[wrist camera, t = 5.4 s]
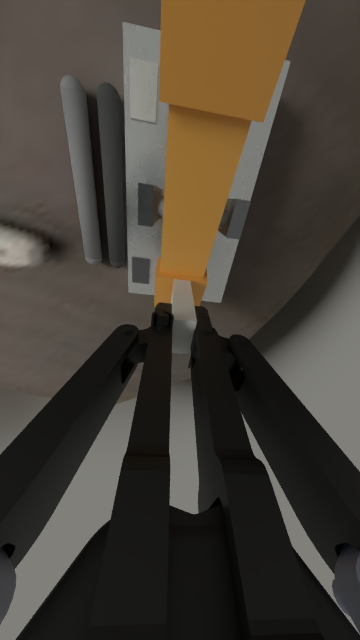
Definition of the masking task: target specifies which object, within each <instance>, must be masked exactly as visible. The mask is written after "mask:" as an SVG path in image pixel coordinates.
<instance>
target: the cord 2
mask: <svg viewBox="0 0 360 640" xmlns="http://www.w3.org/2000/svg"><path fill="white" fill-rule="evenodd" d="M97 106H98V119H99V132H100V145H101V158H102V171H103V184H104V197H105V210H106V223H107V236H108V249H109V260H110V263H111V265H112V266H114V267H116V268H120V267H122V266H124V264H125V261H126V260H125V225H124V191H123V157H122V123H121V100H120V97H119V94H118V92H117V90H116V89H115V87H114V86H112V85H111V84H109V83H102V84H101V85H100V86H99V87H98V90H97Z"/></svg>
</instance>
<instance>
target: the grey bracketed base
mask: <svg viewBox="0 0 360 640" xmlns="http://www.w3.org/2000/svg"><path fill="white" fill-rule="evenodd" d="M160 37H161V31H160V30H156V29H151V28H147V27H143V26H139V25H134V24H130V23H126V22H123V64H124V109H125V154H126V199H127V243H128V288H129V292H130V293H139V294H147V295H155V273H156V267H157V261H158V258H161V246H162V227H163V219H159V218H158V200H159V195H160V196H164V189H165V169H166V150H167V131H168V112H169V104H168V103H164V102H159V81H160ZM290 62H291V61H287V60H285V62H284V64H283V67H282V70H281V73H280V76H279V79H278V82H277V85H276V87H275V90H274V93H273V96H272V99H271V102H270V105H269V108H268V110H267V113H266V116H265V119H264V122H263V123H262V122H257V121H252V122H251V125H250V128H249V131H248V135H247V138H246V141H245V144H244V147H243V151H242V154H241V157H240V160H239V164H238V167H237V170H236V173H235V176H234V180H233V183H232V186H231V189H230V193H229V196H228V199H227V202H226V205H225V206H227V216H226V220H225V224H224V226H223V227H222V228H220V227H219V228H218V231H217V235H216V238H215V241H214V244H213V247H212V251H211V254H210V257H209V260H208V264H207V281H208V283H207V286H206V289H205V292H204V295H203V298H202V300H201V301H209V302H218V303H221V301H222V297H223V294H224V290H225V287H226V283H227V280H228V276H229V273H230V269H231V266H232V262H233V259H234V256H235V252H236V249H237V245H238V242H239V240H240V237H241V234H242V230H243V227H244V224H245V220H246V217H247V213H248V210H249V206H250V203H251V201H250V200H251V197H252V193H253V190H254V186H255V183H256V180H257V176H258V173H259V169H260V166H261V162H262V159H263V155H264V152H265V148H266V145H267V141H268V138H269V135H270V131H271V128H272V124H273V121H274V117H275V114H276V110H277V107H278V103H279V100H280V97H281V93H282V90H283V86H284V83H285V79H286V76H287V72H288V69H289V65H290Z"/></svg>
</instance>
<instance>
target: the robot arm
mask: <svg viewBox="0 0 360 640" xmlns="http://www.w3.org/2000/svg"><path fill="white" fill-rule="evenodd" d="M190 350H191V357H190V362H189V366H188V368H190V367H191V380H192V392H193V406H194V419H195V431H196V444H197V458H198V471H199V492H198V510H199V513H198V514H190V513H188V512H185V511H183V510H180V509H177V508H175V507H172V506H170V505H169V498H170V496H169V495H170V456H169V431H170V429H169V428H170V397H171V362H172V353H180V354H190ZM140 362H144V365H143V370H142V375H141V381H140V386H139V391H138V396H137V401H136V406H135V411H134V417H133V422H132V427H131V432H130V437H129V442H128V447H127V451H126V454H125V456H124V459H123V463H122V467H121V472H120V476H119V481H118V486H117V491H116V496H115V501H114V506H113V510H112V515H111V520H109V521H108V522H107V523H106V524H104V525H103V526H102V527H101V528H100V529H99V530H98V531H97V532H96V533H95V534H94V535H93V537H92V538H91V539H90V540H89V541H88V543H87V544H86V545H85V547H84V548H83V549H82V551H81V552H80V553H79V555H78V556H77V557H76V559H75V560H74V561H73V563H72V564H71V565H70V567H69V568H68V570H67V571H66V572H65V574H64V575H63V576H62V578H61V579H60V581H59V582H58V583H57V585H56V586H55V587H54V589H53V590H52V591H51V592H50V594H49V596H48V597H47V598H46V599H45V601H44V602H43V603H42V605H41V606H40V607H39V609H38V610H37V611H36V613H35V614H34V615H33V617H32V618H31V619H30V621H29V622H28V624H27V625H26V626H25V628H24V629H23V630H22V632H21V633H20V635H19V636H18V637H17V638H16V640H360V635H359V633H360V472H359V470H358V469H357V468H356V467H355V466H354V465H353V463H352V462H351V461H350V460H349V459H348V457H347V456H346V455H345V454H344V453H343V451H342V450H341V449H340V448H339V447H338V445H337V444H336V443H335V442H334V441H333V439H332V438H331V437H330V436H329V435H328V433H327V432H326V431H325V430H324V429H323V428H322V427H321V425H320V424H319V423H318V422H317V420H316V419H315V418H314V417H313V416H312V414H311V413H310V412H309V411H308V410H307V409H306V407H305V406H304V405H303V404H302V403H301V401H300V400H299V399H298V398H297V396H296V395H295V394H294V393H293V392H292V391H291V389H290V388H289V387H288V386H287V385H286V383H285V382H284V381H283V380H282V379H281V377H280V376H279V375H278V374H277V373H276V372H275V371H274V369H273V368H272V367H271V365H270V364H269V363H268V362H267V361H266V360H265V358H264V357H263V356H262V355H261V354H260V352H259V351H258V350H257V349H256V348H255V346H254V345H253V344H252V343H251V342H250V340H248V339H247V338H246V337H244V336H242V335H232V336H230V338H229V339H227V338H224V337H221V336H219V335H218V333H217V331H216V330H215V329H214V328H213V327H212V325H211V321H210V318H209V315H208V310H207V309H206V308H205V307H202V306H194V301H193V294H192V288H191V282H190V281H188V280H180V279H174V281H173V290H172V298H171V303H162V302H159V303H158V304H157V305H156V309H155V312H153V313H152V321H151V327H149V328H147V329H144V330H138V328H137V327H136V326H134V325H129V324H126V325H121V326H119V327H117V328H116V329H115V330H114V331H113V333H112V334H111V335H110V336H109V337H108V338H107V339H106V340H105V341H104V342H103V343H102V345H101V346H100V347H99V348H98V349H97V350H96V351H95V352H94V353H93V354H92V355H91V357H90V358H89V359H88V360H87V361H86V362H85V363H84V364H83V365H82V366H81V367H80V369H79V370H78V371H77V372H76V373H75V374H74V375H73V376H72V377H71V378H70V379H69V380H68V382H67V383H66V384H65V385H64V386H63V387H62V388H61V389H60V390H59V391H58V392H57V394H56V395H55V396H54V397H53V398H52V399H51V400H50V401H49V402H48V403H47V404H46V406H45V407H44V408H43V409H42V410H41V411H40V412H39V413H38V414H37V416H35V418H34V419H33V420H32V421H31V422H30V423H29V424H28V425H27V426H26V428H25V429H24V430H23V431H22V432H21V433H20V434H19V435H18V436H17V437H16V438H15V439H14V440H13V442H12V443H11V444H10V445H9V446H8V447H7V448H6V449H5V450H4V451H3V452H2V454H1V455H0V624H1V622H2V620H3V619H4V617H5V615H6V613H7V611H8V609H9V606H10V604H11V601H12V599H13V595H14V591H15V587H16V574H15V570H14V569H15V568H16V567H17V565H18V564H19V563H20V562H21V560H22V559H23V558H24V556H25V555H26V553H27V552H28V551H29V549H30V548H31V546H32V545H33V544H34V542H35V541H36V539H37V538H38V536H39V535H40V533H41V532H42V530H43V528H44V527H45V525H46V524H47V522H48V520H49V519H50V517H51V516H52V514H53V512H54V510H55V509H56V507H57V505H58V503H59V501H60V500H61V498H62V496H63V495H64V493H65V491H66V489H67V488H68V486H69V484H70V482H71V481H72V479H73V477H74V475H75V474H76V472H77V470H78V468H79V467H80V465H81V463H82V462H83V460H84V458H85V456H86V455H87V453H88V451H89V449H90V448H91V445H92V444H93V442H94V441H95V439H96V437H97V435H98V434H99V432H100V430H101V428H102V427H103V425H104V423H105V421H106V420H107V418H108V416H109V414H110V413H111V411H112V409H113V407H114V406H115V404H116V402H117V400H118V399H119V397H120V395H121V393H122V392H123V390H124V388H125V386H126V385H127V383H128V381H129V379H130V378H131V376H132V374H133V372H134V371H135V369H136V367H137V365H138V363H140ZM241 368H242V369H243V370H242V369H241ZM241 413H242V414H243V416H244V418H245V420H246V422H247V424H248V426H249V428H250V429H251V431H252V433H253V435H254V437H255V439H256V440H257V443H258V444H259V446H260V448H261V450H262V452H263V454H264V456H265V458H266V459H267V461H268V463H269V465H270V467H271V469H272V470H273V472H274V474H275V476H276V478H277V480H278V482H279V484H280V486H281V488H282V489H283V491H284V493H285V495H286V497H287V499H288V501H289V503H290V504H291V506H292V508H293V510H294V512H295V514H296V516H297V518H298V519H299V521H300V523H301V525H302V526H303V528H304V530H305V531H306V533H307V535H308V537H309V538H310V540H311V541H312V542H313V544H314V546H315V547H316V549H317V551H318V552H319V553H320V555H321V557H322V558H323V559H324V561H325V562H326V564H327V565H328V566H329V568H330V569H331V570H332V572H333V573H334V574H335V579H334V580H333V583H332V588H333V593H334V596H335V598H336V601H337V603H338V605H339V606H340V607H341V608H342V610H343V611H344V612H345V613H346V614H347V615H349V616H350V617H351V618H352V620H353V622H354V624H355V625H356V627H357V629H358V631H359V633H358V632H357V631H356V630H355V628H354V627H353V626H352V624H351V623H350V622H349V620H348V619H347V618H346V616H345V615H344V614H343V612H342V611H341V610H340V609H339V607H338V606H337V605H336V603H335V602H334V601H333V599H332V598H331V597H330V595H329V594H328V593H327V591H326V590H325V589H324V588H323V586H322V585H321V584H320V582H319V581H318V580H317V578H316V577H315V576H314V574H313V573H312V572H311V570H310V569H309V568H308V567H307V565H306V564H305V563H304V561H303V560H302V559H301V557H300V556H299V555H298V553H297V552H296V551H295V549H294V548H293V547H292V545H291V542H290V539H289V536H288V533H287V530H286V527H285V524H284V521H283V518H282V514H281V511H280V508H279V505H278V502H277V499H276V496H275V493H274V490H273V487H272V484H271V481H270V478H269V475H268V473H267V470H266V468H265V466H264V464H263V463H262V461H260V460H259V459H257V458H256V457H255V456H254V454H253V452H252V449H251V445H250V442H249V438H248V435H247V432H246V428H245V425H244V421H243V418H242V415H241Z"/></svg>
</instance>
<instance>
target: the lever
mask: <svg viewBox="0 0 360 640" xmlns="http://www.w3.org/2000/svg"><path fill="white" fill-rule="evenodd" d="M305 1H306V0H161V37H160V81H159V102H164V103H168V104H169V112H168V131H167V150H166V169H165V189H164V196H160V195H159V200H158V218H159V219H163V227H162V246H161V258H158V261H157V267H156V273H155V298H154V307H156V305H157V304H158V303H159V302H162V303H171V298H172V290H173V281H174V279H180V280H188V281H190V282H191V288H192V294H193V301H194V306H200V303H201V300H202V298H203V295H204V292H205V289H206V286H207V283H208V281H207V264H208V260H209V257H210V254H211V251H212V247H213V244H214V241H215V238H216V235H217V231H218V228H219V227H220V228H222V227H223V226H224V224H225V220H226V216H227V206H225V205H226V202H227V199H228V196H229V193H230V189H231V186H232V183H233V180H234V176H235V173H236V170H237V167H238V164H239V160H240V157H241V154H242V151H243V147H244V144H245V141H246V138H247V135H248V131H249V128H250V125H251V122H252V121H257V122H262V123H263V122H264V119H265V116H266V113H267V110H268V108H269V105H270V102H271V99H272V96H273V93H274V90H275V87H276V85H277V82H278V79H279V76H280V73H281V70H282V67H283V64H284V62H285V59H286V56H287V53H288V50H289V47H290V44H291V41H292V39H293V36H294V33H295V30H296V27H297V24H298V21H299V18H300V16H301V13H302V10H303V7H304V4H305Z"/></svg>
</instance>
